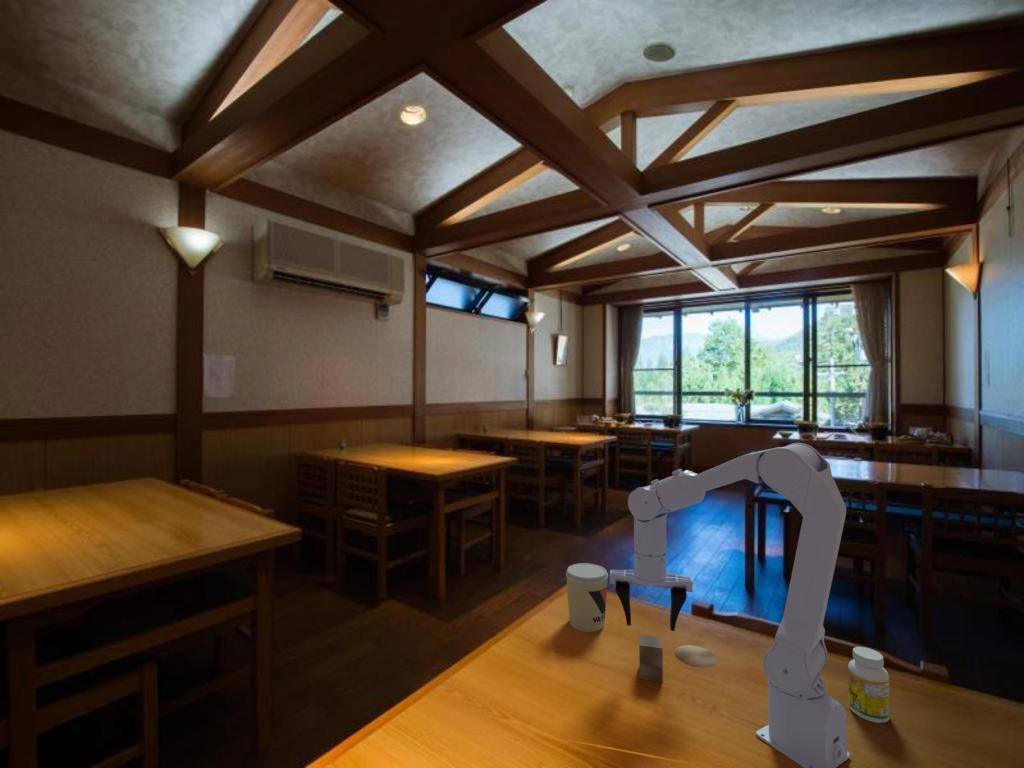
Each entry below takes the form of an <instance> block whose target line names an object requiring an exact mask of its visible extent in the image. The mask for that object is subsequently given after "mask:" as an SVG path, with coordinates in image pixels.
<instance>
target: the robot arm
mask: <svg viewBox="0 0 1024 768" xmlns="http://www.w3.org/2000/svg"><path fill="white" fill-rule="evenodd" d="M671 474H672V475H671V476H668V477H666V478H663V479H660V480H659V479H658V478H657V479H653V480H651V481H650V484H649V485H646V486H642V487H640V486H639V487H637V488H635V489H634V490H632V491H631V492H630V494H629V495H628V499H627V506H628V509H629V512H630V514H631V515H632V516H633V551H634V554H633V555H634V557H633V560H634V562H633V564H634V568H633V569H610V570H609V584H610V585H615V592H616V595H617V596H618V599H619V600H620V603H621V605H622V610H623V612H624V616H625V619H626V620H625V621H626V626H631V625H632V624H631V622H632V612H631V585H633V586H643V587H652V588H663V589H670V614H669V615H670V616H669V627H670V631H671V632H675V631H676V625H677V620H678V617H679V615H680V612H681V609H682V608H683V606H684V604H685V602H686V600H687V593H693V591H694V587H693V586H694V584H693V583H694V582H693V578H692V577H690V576H684V575H683V576H682V575H679V574H674V573H673V574H672V573H669V572H667V521H668V520H667V516H668V514H670V513H672V512H675V511H678V510H682V509H685V508H688V507H691V506H693V505H696V504H699V503H702V502H703V500H704V498H705V496H706V493H707V491H711V490H714V489H718V488H721V487H724V486H727V485H730V484H734V483H736V482H739V481H742V480H747V481H751V482H753V483H755V484H761V483H763V482H764V483H765V485H766V486H768V487H769V488H771V490H773V491H774V492H776V493H778V494H780V495H781V496H782V497H783V498H785V499H786V500H788V501H790V503H791V504H792V505H793V506H794V507H795V508H796V510H797V511H798V512H799V513H800V514H801V516H802V521H801V526H800V530H799V535H798V542H797V547H796V551H795V556H794V562H793V567H792V571H791V578H790V581H789V587H788V591H787V596H786V602H785V607H784V612H783V616H782V620H781V622H780V624H779V626H778V629H777V631H776V634H775V636H774V641H773V644H772V646H770V648H769V649H767V650H766V651H765V652H764V655H763V657H762V666H763V671H764V673H765V675H766V677H767V678H768V685H767V686H768V692H767V693H768V696H767V697H768V724H767V725H765V726H764V727H762V728H760V729H758V730H757V731H755V736H756V737H757V738H759V739H760V740H762V741H763V742H765V743H766V744H767V745H768V746H771V747H772V748H774V749H775V750H776V751H778V752H780V753H781V754H782V755H784V756H785V757H787V758H789V759H790V760H791V761H793V762H795V763H796V764H797V765H799V766H800V767H802V768H838V767H839V766H840V765H842V764H843V763H845V761H846V762H847V761H848V759H849V758H851V753H850V752H849V751H848V715H847V711H846V708H845V707H844V705H842V703H839V702H838V701H837V700H835V699H834V698H833V697H832V696H831V695H830V694H829V693H828V692H827V690H826V688H825V686H826V685H825V684H824V681H823V677H822V675H821V673H820V671H821V669H822V668H824V666H826V663H827V662H828V650H827V648H826V644H825V633H826V629H825V627H824V621H825V616H826V611H827V606H828V600H829V597H830V592H831V587H832V583H833V577H834V574H835V568H836V564H837V560H838V554H839V550H840V544H841V539H842V536H843V535H842V534H843V531H844V526H845V522H846V515H847V506H846V503H845V502H844V499H843V497H842V495H841V492H840V490H839V488H838V485H837V483H836V480H835V479H834V476H833V473H832V470H831V464H830V463H829V461H828V460H827V459H826V458H824V456H823V455H821V453H819V452H818V450H817V449H815V448H814V447H813V446H811V445H809V444H806V443H804V442H803V443H802V442H794V443H789V444H787V445H785V446H781V447H780V446H779V447H774V448H769V449H764V450H760V451H754V452H751V453H746V454H743V455H740V456H738V457H736V458H733V459H730V460H728V461H725V462H724V463H721V464H720V465H719V464H718V465H717V466H715V467H712V468H709V469H707V470H705V471H702V472H700V473H696V472H694V471H691V470H689V469H686V470H683V469H682V468H680V469H676V470H673V471H672V472H671Z"/></svg>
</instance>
